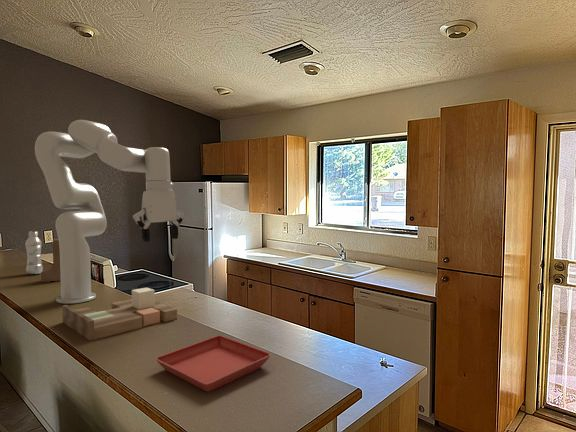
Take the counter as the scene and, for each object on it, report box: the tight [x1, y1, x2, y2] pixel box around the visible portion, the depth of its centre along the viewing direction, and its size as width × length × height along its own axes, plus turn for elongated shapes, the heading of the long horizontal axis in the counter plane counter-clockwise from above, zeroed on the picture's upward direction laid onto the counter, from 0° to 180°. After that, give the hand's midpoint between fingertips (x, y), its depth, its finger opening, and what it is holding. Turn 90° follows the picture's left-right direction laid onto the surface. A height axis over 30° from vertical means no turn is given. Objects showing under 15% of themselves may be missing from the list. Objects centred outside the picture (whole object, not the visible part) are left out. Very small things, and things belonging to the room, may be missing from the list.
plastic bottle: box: [24, 231, 44, 275], centre depth 186 cm, size 6×7×20 cm
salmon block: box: [136, 308, 161, 327], centre depth 118 cm, size 5×5×4 cm
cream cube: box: [131, 287, 156, 309], centre depth 124 cm, size 5×5×5 cm
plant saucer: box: [155, 335, 272, 393], centre depth 86 cm, size 18×18×3 cm
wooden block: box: [40, 238, 61, 283], centre depth 173 cm, size 9×4×18 cm, turn 116°
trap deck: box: [61, 298, 178, 341], centre depth 119 cm, size 21×25×5 cm
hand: (160, 240), depth 128 cm, fingers open, 9 cm apart
